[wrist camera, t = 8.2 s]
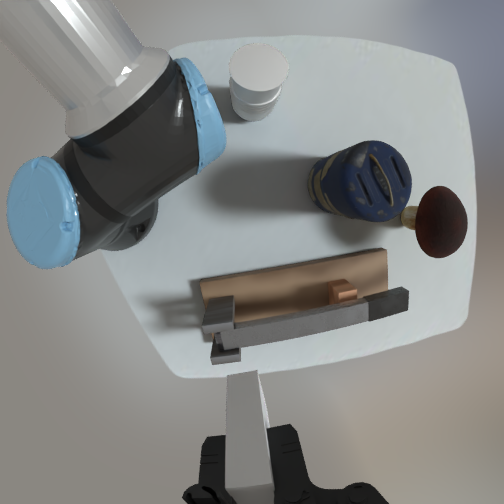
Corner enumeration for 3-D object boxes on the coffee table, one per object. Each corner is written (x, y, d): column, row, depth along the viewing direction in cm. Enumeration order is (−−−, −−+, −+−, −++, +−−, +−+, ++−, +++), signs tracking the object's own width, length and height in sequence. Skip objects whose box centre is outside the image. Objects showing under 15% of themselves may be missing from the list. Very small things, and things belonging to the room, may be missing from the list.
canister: (312, 218, 45) (355, 234, 27) (299, 161, 43) (336, 142, 26) (364, 207, 45) (426, 216, 27) (352, 152, 43) (410, 134, 25)
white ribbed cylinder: (239, 81, 40) (240, 36, 25) (279, 94, 41) (296, 54, 26) (224, 116, 41) (218, 81, 26) (265, 129, 42) (278, 100, 27)
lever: (213, 323, 38) (212, 330, 36) (401, 285, 39) (408, 289, 37) (218, 345, 39) (217, 353, 37) (401, 306, 40) (407, 311, 38)
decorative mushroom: (377, 241, 46) (426, 261, 32) (385, 180, 44) (437, 178, 30) (423, 248, 47) (474, 267, 32) (431, 192, 45) (484, 196, 30)
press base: (201, 279, 46) (189, 306, 35) (381, 247, 47) (418, 263, 35) (215, 341, 49) (210, 381, 37) (382, 308, 49) (414, 336, 37)
